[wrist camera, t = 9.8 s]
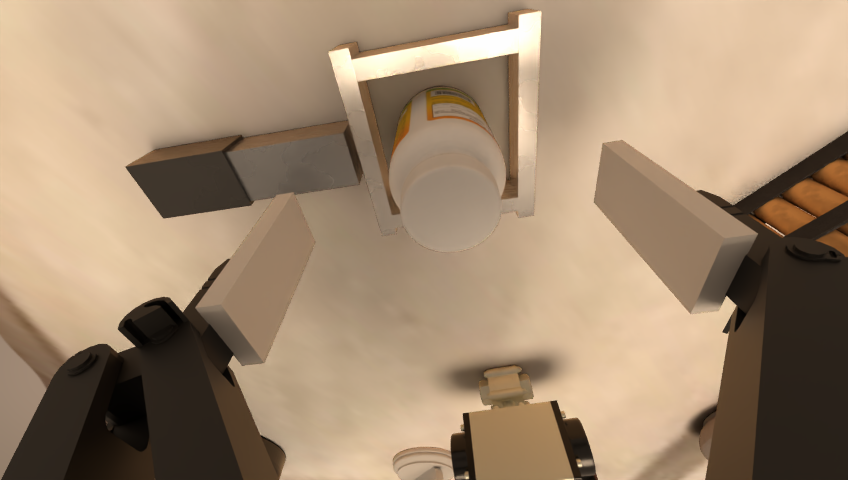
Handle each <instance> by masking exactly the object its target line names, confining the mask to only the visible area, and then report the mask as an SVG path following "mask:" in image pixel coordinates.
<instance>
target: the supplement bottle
mask: <svg viewBox="0 0 848 480" xmlns="http://www.w3.org/2000/svg"><path fill="white" fill-rule="evenodd" d="M505 182H506V167H505V162H504V158H503V155H502V152H501V150H500V148H499V146H498V144H497V142H496V140H495V138H494V136H493V134H492V132H491V130H490V128H489V126H488V124H487V122H486V120H485V118H484V116H483V114H482V112H481V110H480V108H479V107H478V105H477V104H476V103H475V101H474V100H473V99H472V98H471V97H469V96H468V95H467V94H465V93H464V92H462V91H460V90H457V89H455V88H451V87H434V88H430V89H427V90H424V91H422V92H420V93H419V94H417V95H416V96H415V97H413V98H412V99H411V100H410V101H409V102H408V104H407V105H406V106H405V108H404V109H403V111H402V113H401V116H400V118H399V122H398V125H397V131H396V137H395V142H394V146H393V151H392V156H391V162H390V168H389V186H390V190H391V194H392V197H393V199H394V201H395V203H396V205H397V206H398V207H399V209H400V215H401V220H402V223H403V226H404V228H405V230H406V232H407V233H408V234H409V236H410V237H411V238H412V239H413V240H414V241H415V242H417V243H418V244H420V245H421V246H423V247H425V248H427V249H430V250H433V251H437V252H445V253H452V252H460V251H464V250H467V249H470V248H473V247H475V246H477V245H478V244H480V243H482V242H483V241H484V240H485V239H487V238H488V237H489V236H490V235H491V234H492V232H493V231H494V230H495V228H496V226H497V224H498V222H499V220H500V217H501V212H502V201H501V196H502V193H503V190H504V187H505Z"/></svg>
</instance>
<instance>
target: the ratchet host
mask: <svg viewBox="0 0 848 480" xmlns="http://www.w3.org/2000/svg"><path fill="white" fill-rule="evenodd" d="M540 37H541V11H538V10H532V9H524V10H519V11H514V12H509V13H508V24H506V25H501V26H495V27H490V28H485V29H480V30H474V31H469V32H464V33H458V34H453V35H448V36H443V37H437V38H432V39H427V40H422V41H416V42H411V43H406V44H401V45H395V46H390V47H385V48H380V49H374V50H369V51H364V52H359V49H358V45H357V42H353V43H348V44H343V45H339V46H337V47H335V48H334V49H332V50H330V51H329V52H328V53H329V56H330V60H331V63H332V67H333V70H334V73H335V77H336V80H337V84H338V87H339V90H340V94H341V97H342V101H343V104H344V108H345V111H346V114H347V118H348V120H346V121H340V122H334V123H328V124H322V125H316V126H311V127H305V128H299V129H293V130H287V131H281V132H275V133H269V134H264V135H258V136H252V137H246V138H243V137H242V135H238V136H232V137H226V138H221V139H215V140H209V141H203V142H197V143H191V144H186V145H180V146H174V147H168V148H162V149H156V150H153V151H151V152H150V153H148V154H146V155H145V156H143V157H141V158H139V159H138V160H136V161H134V162H132V163H131V164H129V165H127V166H126V169H127V170H128V171H129V173H130V174H131V176H132V177H133V178H134V180H135V181H136V182H137V184H138V185H139V186H140V188H141V189H142V190H143V192H144V193H145V194H146V196H147V197H148V198H149V200H150V201H151V202H152V204H153V205H154V206H155V208H156V209H157V211H158V212H159V213H160V215H161V216H162V217H163V219H164V218H170V217H177V216H184V215H190V214H197V213H204V212H210V211H217V210H224V209H230V208H237V207H244V206H250V205H252V204H253V202H254V201H255V200H261V199H268V198H274V197H276V195H279V194H285V193H292V192H294V194H301V193H307V192H314V191H321V190H327V189H334V188H341V187H347V186H354V185H359V184H360V181H361V178H362V175H363V172H364V176H365V179H366V183H367V186H368V189H369V193H370V196H371V200H372V203H373V206H374V210H375V213H376V217H377V220H378V224H379V227H380V230H381V234H382V236H386V235H394V234H397V228H399V227H404V226H403V223H402V220H401V215H400V209H399V207H398V206H397V205H396V203H395V201H394V199H393V197H392V194H391V190H390V186H389V171H388V167H387V163H386V159H385V155H384V151H383V147H382V143H381V139H380V135H379V131H378V126H377V122H376V118H375V114H374V110H373V106H372V102H371V98H370V94H369V90H368V86H367V82H366V80H370V79H375V78H381V77H386V76H392V75H397V74H403V73H408V72H414V71H419V70H425V69H431V68H436V67H442V66H447V65H453V64H458V63H464V62H469V61H475V60H480V59H486V58H491V57H497V56H502V55H508V73H509V153H510V179H509V180H506V182H505V187H504V190H503V193H502V196H501V201H502V212H501V213H508V212H515V211H516V214H517V216H518V218H519V217H527V216H534V199H535V172H536V145H537V118H538V91H539V64H540Z"/></svg>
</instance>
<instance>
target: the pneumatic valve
mask: <svg viewBox="0 0 848 480" xmlns="http://www.w3.org/2000/svg"><path fill="white" fill-rule="evenodd" d="M521 371H522V369H521V368H520V367H516V365H513V366H507V367H501V368H494V369H488V370H486V372H484V377H485V378H488V379H487V380H481V381H480V382H479V389H480V395H481V399H482V403H483V404H484V405H492V404H493V406H491V410H484V411H477V412H470V413H463V421H464V424H463V425H461V431H464V432H462V433H455V434H452V436H451V459H452V467H453V473H454V477H455V480H582V477H584V476H594V475H595V474H596V470H595V464H594V460H593V456H592V452H591V449H590V445H589V442H588V439H587V436H586V434H585V431H584V429H583V426H582V424H581V422H580V420H579V419H578V418H570V419H563V418H566V416H565V412H564V411H560V409H559V406H558V403H557V400H556V401H549V402H542V403H534V404H530V403H529V402H528V401H524V400H528V399H533V397H534V395H533V391H532V386H531V382H530V379H529V376H528V374H520V375H518V373H521Z"/></svg>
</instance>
